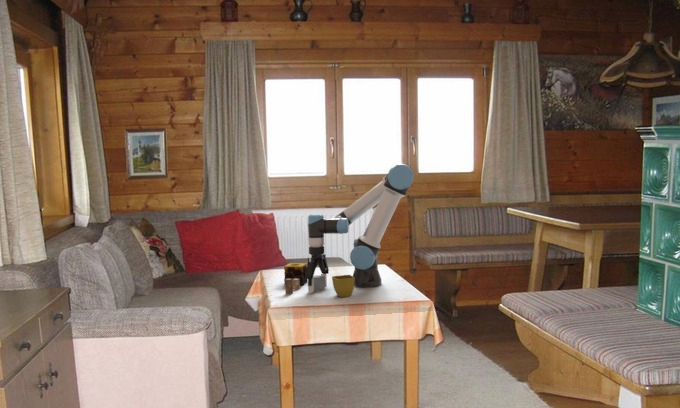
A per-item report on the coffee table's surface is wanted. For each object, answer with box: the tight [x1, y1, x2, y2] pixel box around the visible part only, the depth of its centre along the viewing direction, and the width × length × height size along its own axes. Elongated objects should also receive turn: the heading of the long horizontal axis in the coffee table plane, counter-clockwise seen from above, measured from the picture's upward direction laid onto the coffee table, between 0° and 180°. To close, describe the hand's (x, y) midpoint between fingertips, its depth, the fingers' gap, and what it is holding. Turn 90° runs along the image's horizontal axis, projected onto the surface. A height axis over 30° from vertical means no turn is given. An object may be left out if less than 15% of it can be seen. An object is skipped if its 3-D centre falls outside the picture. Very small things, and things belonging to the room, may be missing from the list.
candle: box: [283, 262, 308, 287], centre depth 327 cm, size 10×10×10 cm
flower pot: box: [331, 274, 355, 298], centre depth 295 cm, size 9×9×9 cm
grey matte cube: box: [313, 274, 326, 292], centre depth 310 cm, size 5×5×7 cm
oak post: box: [293, 279, 301, 291], centre depth 313 cm, size 3×3×5 cm
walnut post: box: [284, 279, 294, 295], centre depth 303 cm, size 3×3×7 cm
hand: (317, 289), depth 310 cm, fingers open, 12 cm apart
